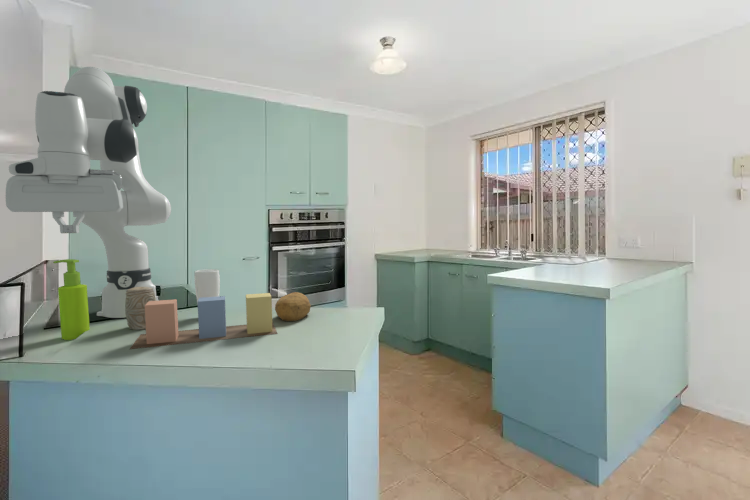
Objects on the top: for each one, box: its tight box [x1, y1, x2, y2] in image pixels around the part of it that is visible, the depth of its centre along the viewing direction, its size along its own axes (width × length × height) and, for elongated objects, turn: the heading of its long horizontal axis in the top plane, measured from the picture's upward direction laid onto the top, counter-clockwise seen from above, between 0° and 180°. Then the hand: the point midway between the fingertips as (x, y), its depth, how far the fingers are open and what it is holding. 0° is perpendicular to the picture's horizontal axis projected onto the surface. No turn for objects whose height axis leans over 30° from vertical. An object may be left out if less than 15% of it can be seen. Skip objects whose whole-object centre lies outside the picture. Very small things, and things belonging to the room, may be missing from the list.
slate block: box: [197, 295, 227, 339], centre depth 98 cm, size 5×6×9 cm
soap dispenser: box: [52, 258, 91, 341], centre depth 102 cm, size 6×7×20 cm
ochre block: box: [245, 292, 273, 334], centre depth 101 cm, size 5×6×9 cm
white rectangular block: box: [194, 268, 221, 305], centre depth 117 cm, size 7×7×15 cm
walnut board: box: [129, 321, 278, 350], centre depth 99 cm, size 12×32×2 cm, turn 110°
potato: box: [274, 291, 312, 322], centre depth 115 cm, size 10×14×8 cm
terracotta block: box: [145, 298, 179, 344], centre depth 94 cm, size 5×6×9 cm
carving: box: [125, 287, 156, 331], centre depth 106 cm, size 6×8×12 cm
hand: (69, 233), depth 87 cm, fingers closed
